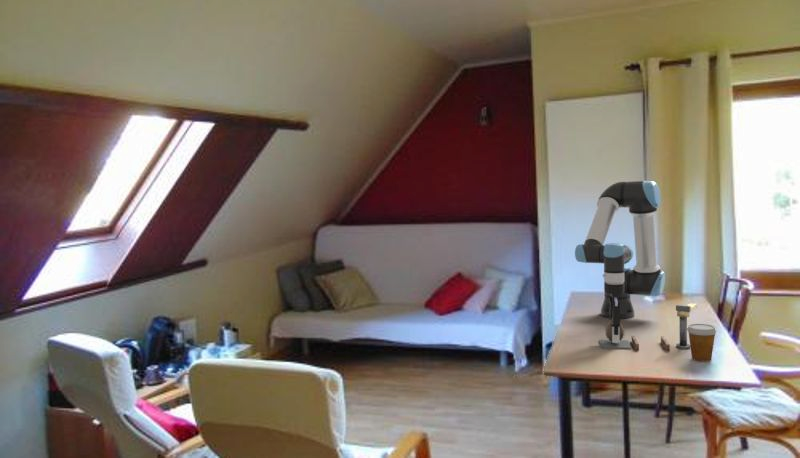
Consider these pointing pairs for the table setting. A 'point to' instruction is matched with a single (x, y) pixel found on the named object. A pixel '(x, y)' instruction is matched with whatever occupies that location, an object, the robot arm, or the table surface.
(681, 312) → the latch
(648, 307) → the table surface
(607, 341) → the mat
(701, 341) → the disposable coffee cup
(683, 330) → the post
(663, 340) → the cradle
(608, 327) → the vase
